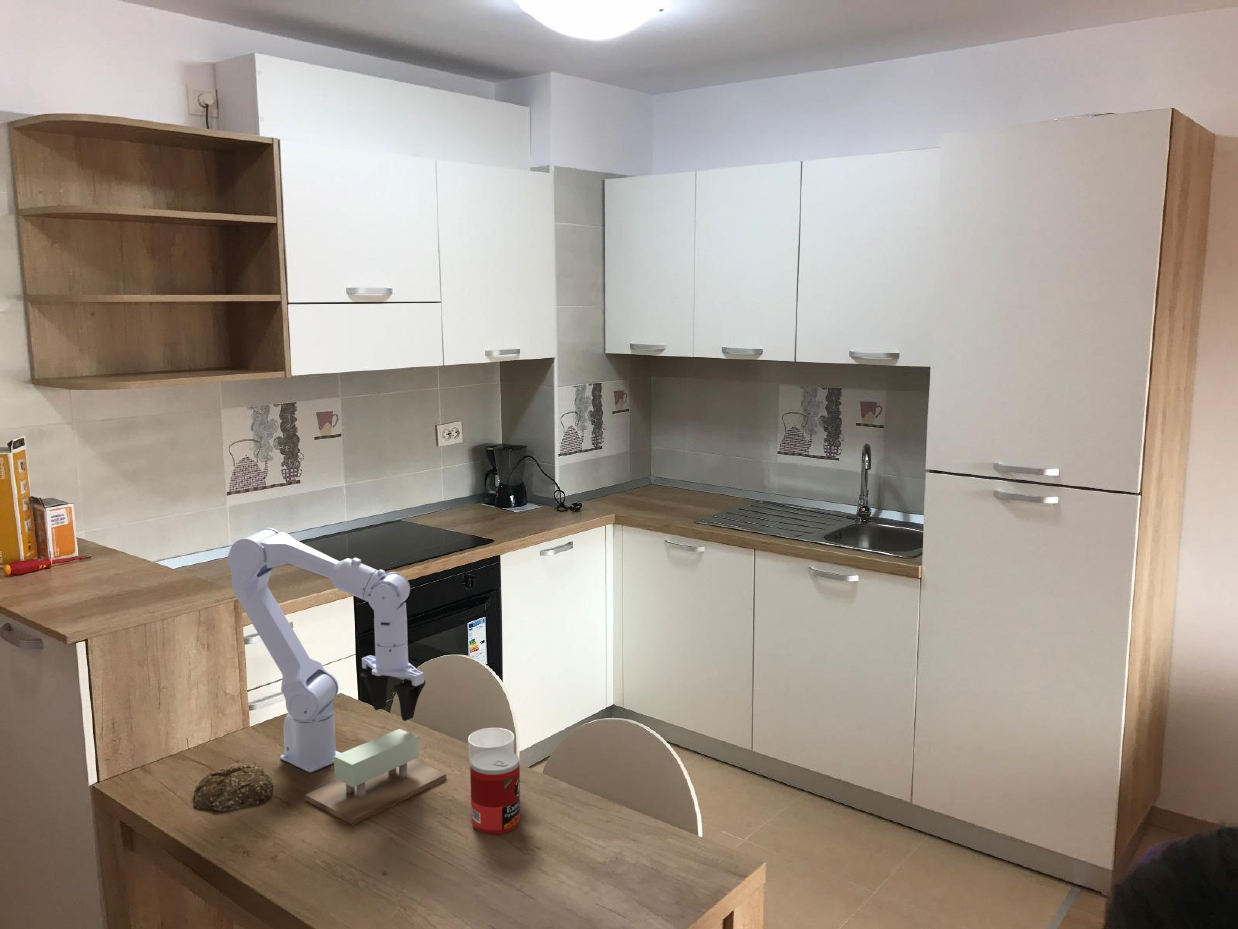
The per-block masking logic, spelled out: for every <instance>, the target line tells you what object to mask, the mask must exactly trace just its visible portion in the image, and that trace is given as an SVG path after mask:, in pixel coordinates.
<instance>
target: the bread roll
mask: <svg viewBox="0 0 1238 929" xmlns="http://www.w3.org/2000/svg"><path fill="white" fill-rule="evenodd" d="M273 789H274V782H273V779H272V778H271V777H270V776H269V774H268V773H267V771H266V770H265V769H264V768H262V767H260V765H259V764H256V763H255V762H252V763H248V762H235V763H230V764H228V765H227V766H226V765H225V766H223V767H220V768H218V769H216V770H213V771H212V772H209V773H208V774H207V775H205V776H204V777H202V779H201V780H200V781H199V782H198V784H196V786H195V789H194V791H193V793H194V799H195V800H194V802H193V803H194V807H195V808H196V809H197V810H201V811H212V810H214V811H216V812H217V811H218V812H228V811H234V810H239V809H241V808H244V807H249V806H258V805H260V804H262V803H265V802H266V801H267V800H269V799H270V798H271V797H272V794H273Z"/></svg>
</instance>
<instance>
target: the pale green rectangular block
mask: <svg viewBox="0 0 1238 929" xmlns="http://www.w3.org/2000/svg"><path fill="white" fill-rule="evenodd" d="M419 757H420V756H419V736H418V735H416V734H414V733H412V732H409V731H406V730H404V729H402V728H398V729H395V730H393V731H390V732H388V733H386V734H384V735H381V736H379V737H376V738H373V739H372V740H369V741H367V742H365V743H363V744H360V745H356V746H355V747H353V748H350V749H348V750H344V751H343V752H340V754H338V755H336V756H334V763H333V767H334V768H333V769H334V770H333V771H334V773H333V774H334V779H335V780H336V781H337V780H339V781H341V782H343V783H345V784H347V785H349V786H351V787H355V786H357V785H359V784H362V783H364V782H366V781H368V780H370V779H373V778H375V777H377V776H379V775H381V774H383V773H386V772H388V771H390V770H392V769H394V768H397V767H399V766H401V765H403V764H405V763H408V762H410V761H412V760H416V759H418V758H419Z"/></svg>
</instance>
